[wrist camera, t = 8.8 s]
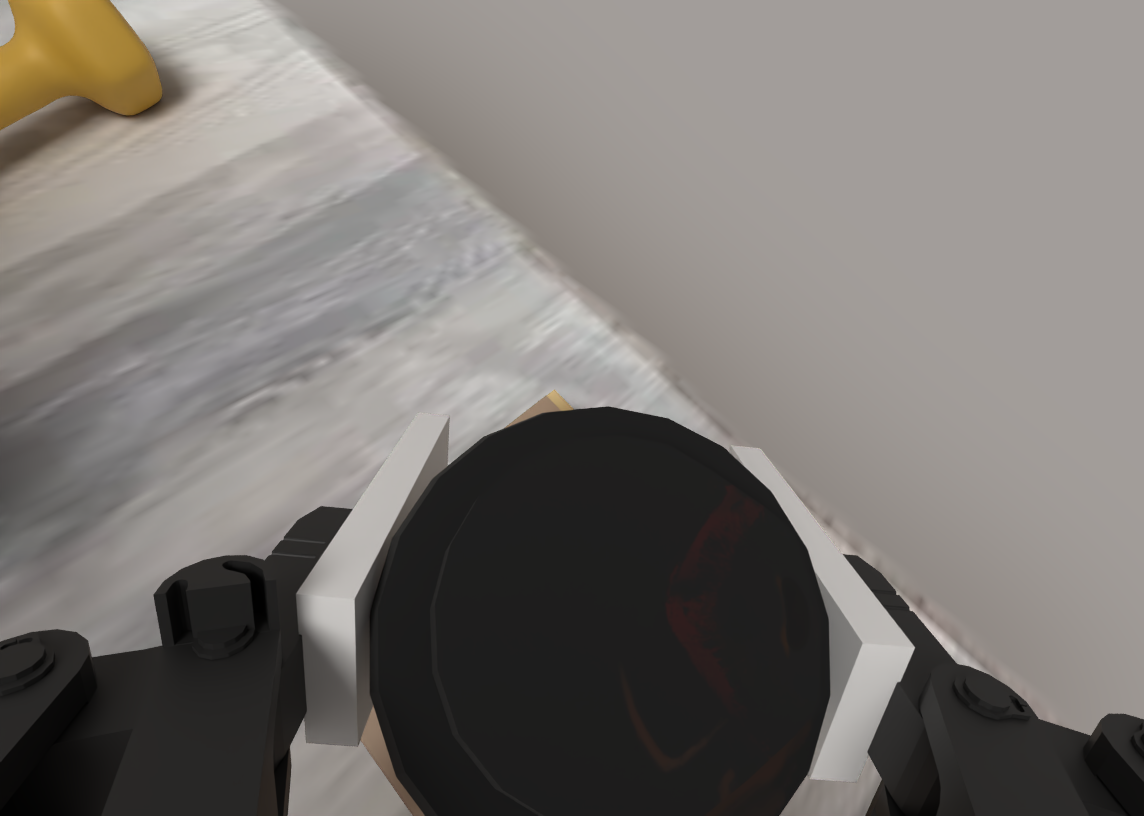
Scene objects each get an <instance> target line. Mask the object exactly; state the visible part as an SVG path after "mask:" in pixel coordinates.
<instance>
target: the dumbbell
mask: <svg viewBox="0 0 1144 816" xmlns="http://www.w3.org/2000/svg"><path fill="white" fill-rule="evenodd" d="M8 2H9V5H10V8H11V10H12V13H13V16H14V21H15V33H14V36H13V38H12V39H11V40H10V41H9V42H8V43H6V44H5V45H3V46H1V47H0V130H2V129H4V128H5V127H7V126H9V125H11V124H13V123H14V122H16V121H18V120H20V119H22V118H24V117H25V116H27V115H29V114H31V113H33V112H35V111H37V110H39V109H41V108H43V107H44V106H46V105H48V104H49V103H51V102H53V101H55V100H56V99H59V98H61V97H65V96H81V97H85V98H88V99H90V100H92V101H94V102H96V103H98V104H99V105H101V106H103V107H105V108H106V109H108V110H111V111H113V112H116V113H119V114H123V115H135V114H138V113H140V112H142V111H144V110H146V109H148V108H149V107H151V106H153V105H154V104H156V103H157V102H158V101H159V100H160V99H161V97H162V86H161V82H160V79H159V75H158V72H157V68H156V65H155V63H154V60H153V58H152V56H151V54H150V53H149V51H148V49H147V48H146V46H145V45H144V43H143V42H142V41H141V39H140V38H139V37H138V35H137V34H136V33H135V31H134V30H133V29H132V28H131V26H130V25H129V24H128V22H127V21H126V20H125V19H124V17H123V16H122V15H121V14H120V12H119V11H118V10H117V9H116V7H115V6H114V5H113V4H112V3H111V1H110V0H8Z"/></svg>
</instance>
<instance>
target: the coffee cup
mask: <svg viewBox="0 0 1144 816" xmlns="http://www.w3.org/2000/svg"><path fill="white" fill-rule="evenodd" d="M370 697H371V700H372V703H373V706H374V709H375V712H376V716H377V719H378V722H379V725H380V728H381V731H382V734H383V738H384V741H385V744H386V747H387V750H388V753H389V756H390V760H391V763H392V766H393V769H394V772H395V775H396V777H397V779H398V780H399V781H400V783H401V784H402V785H403V787H404V788H405V789H406V791H407V792H408V793H409V795H410V796H411V798H412V799H413V800H414V802H415V803H416V804H417V806H418V807H419V808H420V810H421V811H422V812H423V814H424V815H425V816H779V815H780V814H781V812H782V811H783V809H784V808H785V806H786V805H787V804H788V802H789V801H790V799H791V798H792V796H793V795H794V793H795V792H796V790H797V789H798V787H799V786H800V784H801V783H802V781H803V780H804V778H805V777H806V775H807V774H808V773H809V770H810V767H811V763H812V760H813V756H814V752H815V749H816V745H817V742H818V738H819V735H820V731H821V727H822V724H823V720H824V717H825V713H826V709H827V706H828V702H829V699H830V649H829V618H828V614H827V611H826V608H825V605H824V601H823V598H822V595H821V591H820V588H819V585H818V582H817V578H816V575H815V572H814V568H813V565H812V562H811V559H810V555H809V552H808V549H807V547H806V546H805V544H804V543H803V541H802V540H801V538H800V536H799V535H798V533H797V532H796V530H795V528H794V527H793V525H792V524H791V522H790V520H789V519H788V517H787V516H786V514H785V512H784V511H783V509H782V508H781V506H780V504H779V503H778V501H777V500H776V498H775V496H774V495H773V493H772V492H771V491H770V490H769V489H768V488H767V487H766V486H765V485H764V484H763V483H762V482H761V481H760V480H759V479H757V478H756V477H755V476H754V475H753V474H752V473H751V472H750V471H749V470H748V469H747V468H746V467H744V466H743V465H742V464H741V463H740V462H739V461H738V460H737V459H736V458H735V457H734V456H733V455H732V454H730V453H729V452H728V451H727V450H726V449H725V448H724V447H722V446H720V445H719V444H717V443H715V442H713V441H711V440H709V439H707V438H705V437H703V436H701V435H699V434H697V433H695V432H693V431H691V430H689V429H688V428H686V427H684V426H682V425H680V424H678V423H676V422H674V421H672V420H670V419H668V418H663V417H658V416H653V415H648V414H643V413H638V412H633V411H628V410H623V409H618V408H613V407H598V408H587V409H576V410H565V411H554V412H545V413H541V414H538V415H536V416H534V417H531V418H529V419H526V420H524V421H521V422H519V423H516V424H514V425H511V426H509V427H506V428H504V429H502V430H499V431H497V432H494V433H492V434H489V435H487V436H484V437H483V438H482V439H480V440H479V441H478V442H477V443H475V444H474V445H473V446H472V447H471V448H469V449H468V450H467V451H466V452H464V453H463V454H462V455H461V456H459V457H458V458H457V459H456V460H455V461H453V462H452V463H451V464H450V465H448V466H447V467H446V468H445V469H443V470H442V471H441V472H440V473H439V474H437V475H436V476H435V477H434V478H432V480H431V481H430V483H429V484H428V486H427V487H426V489H425V490H424V492H423V493H422V495H421V496H420V497H419V499H418V500H417V502H416V503H415V505H414V506H413V508H412V509H411V511H410V512H409V514H408V515H407V517H406V518H405V520H404V521H403V523H402V524H401V526H400V527H399V529H398V530H397V532H396V533H395V535H394V536H393V538H392V540H391V544H390V547H389V550H388V553H387V557H386V560H385V563H384V566H383V570H382V573H381V576H380V579H379V583H378V586H377V589H376V592H375V596H374V599H373V603H372V607H371V611H370Z"/></svg>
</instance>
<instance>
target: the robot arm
mask: <svg viewBox="0 0 1144 816" xmlns="http://www.w3.org/2000/svg"><path fill="white" fill-rule="evenodd" d="M449 419H450V416H448V415H438V414H429V413H419V412H418V413H417V415H416V416H415V418H414V419H413V421H412V422H411V424H410V425H409V427H408V428H407V430H406V431H405V433H404V434H403V436H402V437H401V439H400V440H399V442H398V443H397V445H396V446H395V448H394V449H393V450H392V452H391V453H390V455H389V456H388V458H387V459H386V461H385V462H384V464H383V465H382V467H381V468H380V470H379V471H378V473H377V474H376V476H375V477H374V479H373V480H372V482H371V483H370V485H369V486H368V488H367V489H366V491H365V492H364V494H363V495H362V497H361V498H360V500H359V501H358V503H357V504H356V505H355V507H354V508H353V509H345V508H334V507H324V506H321V507H319V508H317V509H316V510H314V511H312V512H310V513H309V514H307V515H305V516H304V517H302V518H300V519H299V520H298V521H297V522H296V523H295V524H294V525H293V527H292V528H291V529H290V530H289V532H288V533H287V534H286V535H285V536H284V540H283V541H280V542H279V544H278V545H277V546H276V547H275V549H274V550H273V551H272V555H269V556H268V557H267V558H266V560H265V561H264V560H262V559H258V558H255V557H251V556H247V555H234V556H221V557H216V558H211V559H207V560H203V561H200V562H198V563H195V564H193V565H190V566H188V567H185V568H183V569H181V570H179V571H178V572H176V573H175V574H174V575H172V576H171V577H169V578H168V579H166V580H165V581H164V582H163V583H162V584H161V586H160V587H159V588H158V590H157V591H156V592H155V593H154V600H155V606H156V612H157V617H158V623H159V628H160V634H161V639H162V645H163V646H158V647H154V648H149V649H144V650H138V651H131V652H124V653H118V654H111V655H104V656H98V657H92V656H91V652H90V648H89V643H88V640H86V639H85V638H84V637H82V636H81V635H80V634H78V633H77V632H72V631H65V630H58V629H56V630H47V631H38V632H31V633H27V634H24V635H21V636H17V637H14V638H10V639H7V640H4V641H1V642H0V816H287V815H288V803H289V790H290V778H291V755H290V745H291V743H292V741H293V739H294V737H295V735H296V733H297V731H298V728H299V726H300V724H301V722H302V720H303V718H304V720H305V734H306V743H316V744H330V745H344V746H358V745H359V742H360V739H361V737H362V734H363V731H364V728H365V726H366V723H367V720H368V718H369V715H370V712H371V710H372V707H373V703H372V700H371V697H370V611H371V607H372V603H373V599H374V596H375V592H376V589H377V586H378V583H379V579H380V576H381V573H382V570H383V566H384V563H385V560H386V557H387V553H388V550H389V547H390V544H391V540H392V538H393V536H394V535H395V533H396V532H397V530H398V529H399V527H400V526H401V524H402V523H403V521H404V520H405V518H406V517H407V515H408V514H409V512H410V511H411V509H412V508H413V506H414V505H415V503H416V502H417V500H418V499H419V497H420V496H421V495H422V493H423V492H424V490H425V489H426V487H427V486H428V484H429V483H430V481H431V480H432V478H434V477H435V476H436V475H437V474H439V473H440V472H441V471H442V470H443V469H445V468H446V467H447V463H448V441H449ZM729 453H730V454H732V455H733V456H734V457H735V458H736V459H737V460H738V461H739V462H740V463H741V464H742V465H743V466H744V467H746V468H747V469H748V470H749V471H750V472H751V473H752V474H753V475H754V476H755V477H756V478H757V479H759V480H760V481H761V482H762V483H763V484H764V485H765V486H766V487H767V488H768V489H769V490H770V491H771V492H772V493H773V495H774V496H775V498H776V500H777V501H778V503H779V504H780V506H781V508H782V509H783V511H784V512H785V514H786V516H787V517H788V519H789V520H790V522H791V524H792V525H793V527H794V528H795V530H796V532H797V533H798V535H799V536H800V538H801V540H802V541H803V543H804V544H805V546H806V547H807V549H808V552H809V555H810V559H811V562H812V565H813V568H814V572H815V575H816V578H817V582H818V585H819V588H820V591H821V595H822V598H823V601H824V605H825V608H826V611H827V614H828V618H829V649H830V699H829V702H828V706H827V709H826V713H825V717H824V720H823V724H822V727H821V731H820V735H819V738H818V742H817V745H816V749H815V752H814V756H813V760H812V763H811V767H810V770H809V773H808V776H809V778H810V779H814V780H828V781H842V782H855V783H857V781H858V778H859V776H860V774H861V771H862V769H863V767H864V765H865V762H866V760H867V758H868V755H869V756H870V758H871V760H872V761H873V763H874V765H875V767H876V769H877V771H878V772H879V774H880V776H881V778H882V781H881V783H880V785H879V787H878V789H877V792H876V794H875V796H874V798H873V800H872V803H871V805H870V807H869V809H868V811H867V814H866V816H1144V719H1140V718H1137V717H1133V716H1130V715H1126V714H1108V715H1106V716H1105V717H1104V718H1102V719H1101V720H1100V722H1099V724H1098V725H1097V727H1096V728H1095V730H1094V732H1093V733H1092V735H1091V736H1090V735H1087V734H1084V733H1081V732H1078V731H1074V730H1071V729H1068V728H1065V727H1062V726H1059V725H1056V724H1053V723H1049V722H1046V721H1043V720H1040V719H1038V717H1037V716H1036V714H1035V713H1034V712H1033V710H1032V709H1031V708H1030V706H1029V705H1028V704H1027V702H1026V701H1025V700H1024V699H1022V698H1021V697H1020V696H1019V695H1018V694H1017V693H1015V692H1014V691H1013V690H1012V689H1011V688H1010V687H1008V686H1007V685H1005V684H1003V683H1002V682H1000V681H998V680H997V679H995V678H994V677H992V676H990V675H989V674H986V673H984V672H981V671H979V670H976V669H974V668H972V667H969V666H964V665H959V664H957V663H956V662H955V661H954V660H953V659H952V657H951V656H950V655H949V654H948V653H947V651H946V650H945V649H944V648H943V647H942V645H941V644H940V643H939V642H938V641H937V639H936V638H935V637H934V636H933V635H932V633H931V632H930V631H929V630H928V629H927V628H926V626H925V625H924V624H923V623H922V622H921V620H920V619H919V618H918V617H917V616H916V614H915V613H914V612H913V611H910V610H909V606H908V605H907V604H906V603H905V601H904V600H903V599H902V598H901V597H900V595H896V591H895V589H894V588H893V587H892V586H891V585H890V583H889V582H888V581H887V580H886V579H885V578H884V576H883V575H882V574H881V573H880V572H879V571H877V570H876V569H875V568H873V567H872V566H871V565H869V564H868V563H866V562H865V561H864V560H862V559H861V558H860V557H858V556H855V555H845V554H842V553H841V552H840V550H839V549H838V548H837V546H836V545H835V544H834V543H833V541H832V540H831V539H830V537H829V536H828V535H827V534H826V532H825V531H824V530H823V528H822V527H821V526H820V525H819V523H818V522H817V521H816V519H815V518H814V517H813V516H812V514H811V513H810V512H809V510H808V509H807V508H806V507H805V505H804V504H803V503H802V501H801V500H800V499H799V498H798V496H797V495H796V494H795V492H794V491H793V490H792V489H791V487H790V486H789V485H788V483H787V482H786V481H785V480H784V478H783V477H782V476H781V474H780V473H779V472H778V471H777V469H776V468H775V467H774V465H773V464H772V463H771V462H770V460H769V459H768V458H767V456H766V455H765V454H764V453H763V451H762V450H761V449H760V448H751V447H741V446H732V445H731V446H730V451H729Z"/></svg>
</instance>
